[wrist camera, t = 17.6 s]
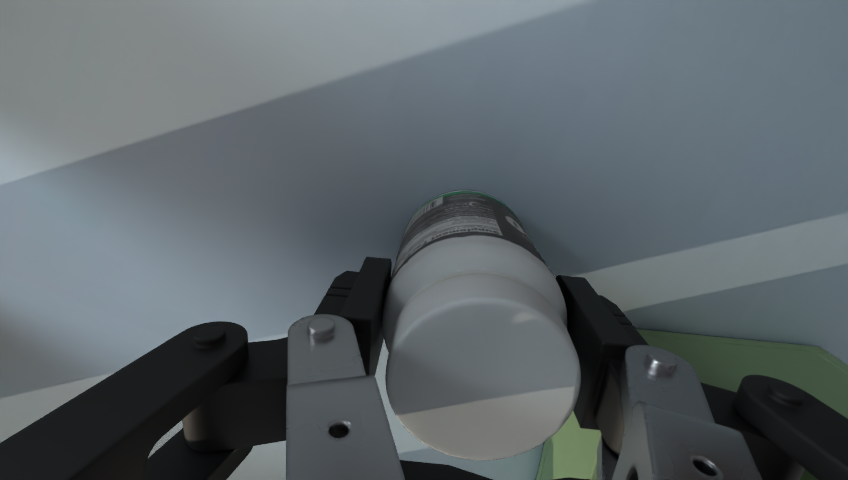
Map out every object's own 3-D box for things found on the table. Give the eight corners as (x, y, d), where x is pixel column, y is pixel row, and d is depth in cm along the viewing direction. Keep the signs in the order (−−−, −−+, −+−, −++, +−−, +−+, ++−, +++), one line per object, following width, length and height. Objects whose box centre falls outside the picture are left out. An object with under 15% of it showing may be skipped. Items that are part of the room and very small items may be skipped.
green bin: (820, 346, 17) (943, 429, 13) (736, 522, 21) (812, 633, 16) (572, 321, 17) (614, 396, 13) (530, 500, 21) (552, 606, 16)
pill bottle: (525, 295, 17) (598, 473, 9) (409, 303, 17) (381, 482, 9) (522, 180, 15) (607, 274, 7) (395, 192, 16) (347, 293, 8)
